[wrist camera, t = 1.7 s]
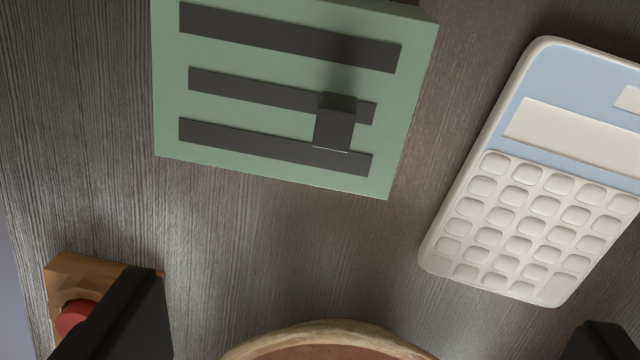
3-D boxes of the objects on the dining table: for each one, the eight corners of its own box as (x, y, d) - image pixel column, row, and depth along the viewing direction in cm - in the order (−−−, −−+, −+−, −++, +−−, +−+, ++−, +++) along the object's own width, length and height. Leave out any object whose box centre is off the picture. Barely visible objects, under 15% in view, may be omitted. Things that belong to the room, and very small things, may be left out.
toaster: (200, 110, 31) (153, 155, 24) (205, -36, 26) (148, -34, 19) (381, 146, 31) (387, 201, 24) (419, 6, 26) (440, 24, 19)
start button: (64, 293, 36) (51, 308, 34) (114, 303, 36) (103, 318, 34) (69, 327, 38) (57, 343, 36) (116, 337, 38) (106, 353, 37)
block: (61, 244, 39) (27, 277, 35) (165, 266, 39) (143, 301, 35) (77, 358, 47) (50, 395, 43) (163, 376, 47) (145, 415, 43)
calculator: (411, 258, 36) (413, 272, 34) (532, 27, 26) (544, 31, 25) (551, 299, 37) (560, 316, 35) (717, 90, 27) (741, 99, 26)
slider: (317, 122, 22) (310, 146, 19) (323, 86, 21) (317, 106, 18) (349, 129, 22) (348, 154, 19) (358, 93, 21) (357, 114, 18)
